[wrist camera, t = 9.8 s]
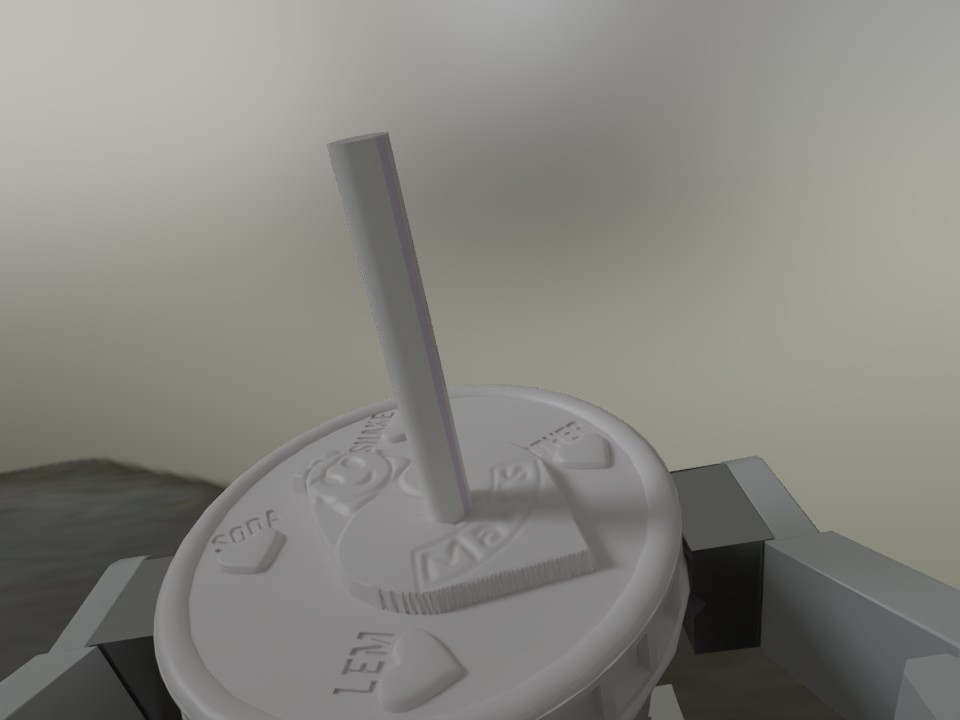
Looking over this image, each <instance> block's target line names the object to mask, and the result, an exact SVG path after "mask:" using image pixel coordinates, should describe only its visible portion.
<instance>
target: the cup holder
mask: <svg viewBox="0 0 960 720" xmlns="http://www.w3.org/2000/svg"><path fill="white" fill-rule="evenodd" d="M647 720H684V719H683V716H682V713H681V711H680V708H679V705H678V702H677V699H676V696H675V693H674V691H673V688H672V685H671V684H669V685H663V686H656V687H654V689H653V691H652V693H651V701H650V710H649V714H648V719H647Z"/></svg>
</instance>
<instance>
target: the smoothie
mask: <svg viewBox="0 0 960 720" xmlns="http://www.w3.org/2000/svg"><path fill="white" fill-rule="evenodd" d="M327 147H328V151H329V155H330V158H331V162H332V166H333V170H334V173H335V177H336V180H337V184H338V188H339V192H340V195H341V199H342V203H343V206H344V210H345V213H346V217H347V221H348V225H349V228H350V232H351V236H352V239H353V243H354V247H355V250H356V254H357V258H358V262H359V265H360V269H361V273H362V276H363V280H364V284H365V287H366V291H367V295H368V298H369V302H370V306H371V309H372V313H373V317H374V320H375V324H376V328H377V331H378V335H379V339H380V343H381V346H382V349H383V354H384V357H385V361H386V365H387V368H388V372H389V376H390V379H391V383H392V387H393V390H394V394H395V397H394V398H390V399H387V400H383V401H380V402H377V403H373V404H370V405H366V406H364V407H361V408H359V409H356V410H354V411H351V412H349V413H346V414H343V415H341V416H339V417H336V418H333V419H331V420H329V421H327V422H325V423H323V424H321V425H319V426H317V427H315V428H313V429H311V430H309V431H307V432H305V433H303V434H301V435H299V436H298V437H295V438H294V439H292V440H291V441H289V442H288V443H286V444H285V445H283V446H281V447H280V448H278V449H276V450H275V451H273V452H272V453H270V454H268V455H267V456H265V457H264V458H263V459H261V460H260V461H259V462H258V463H256V464H255V465H254V466H253V467H251V468H250V469H249V470H247V472H245V473H244V474H242V475H241V476H240V477H239V478H237V479H236V480H235V481H234V482H233V483H232V484H231V485H230V486H229V487H228V488H227V489H226V490H225V491H224V492H223V493H222V494H221V495H220V496H219V497H218V498H217V499H216V500H215V501H214V502H213V503H212V504H211V505H210V506H209V507H208V508H207V509H206V510H205V512H204V513H203V514H202V516H201V517H200V518H199V520H198V521H197V522H196V524H195V525H194V526H193V528H192V529H191V530H190V532H189V533H188V534H187V536H186V537H185V538H184V540H183V542H182V544H181V546H180V547H179V549H178V551H177V553H176V554H175V556H174V558H173V560H172V562H171V564H170V566H169V568H168V571H167V573H166V575H165V577H164V580H163V583H162V586H161V589H160V593H159V596H158V600H157V605H156V610H155V616H154V634H153V637H154V647H155V656H156V659H157V663H158V667H159V670H160V674H161V677H162V679H163V681H164V683H165V685H166V687H167V689H168V691H169V693H170V695H171V697H172V698H173V700H174V702H175V703H176V704H177V706H178V707H179V708H180V710H181V714H182V719H183V720H647V719H648V714H649V710H650V701H651V693H652V691H653V689H654V687H655V686H656V684H657V683H658V681H659V679H660V678H661V676H662V675H663V673H664V671H665V670H666V668H667V667H668V665H669V663H670V662H671V660H672V659H673V657H674V655H675V653H676V649H677V645H678V641H679V636H680V632H681V628H682V623H683V619H684V615H685V611H686V606H687V602H688V598H689V594H690V586H689V578H688V571H687V563H686V555H685V552H684V549H683V545H682V522H681V508H680V503H679V498H678V493H677V490H676V487H675V484H674V482H673V479H672V476H671V474H670V472H669V471H668V469H667V467H666V465H665V463H664V461H663V460H662V458H661V457H660V456H659V455H658V453H657V452H656V450H655V449H654V448H653V447H652V445H651V444H650V443H649V442H648V441H647V440H646V439H645V438H644V437H643V436H642V435H641V434H639V433H638V432H637V431H636V430H635V429H634V428H632V427H631V426H630V425H628V424H627V423H625V422H624V421H622V420H621V419H619V418H618V417H616V416H615V415H613V414H611V413H609V412H607V411H605V410H604V409H602V408H600V407H598V406H595V405H593V404H590V403H588V402H585V401H583V400H580V399H577V398H575V397H572V396H570V395H566V394H561V393H556V392H552V391H548V390H543V389H539V388H532V387H522V386H512V385H464V386H454V387H446V384H445V380H444V375H443V371H442V367H441V362H440V358H439V353H438V349H437V345H436V340H435V336H434V332H433V327H432V323H431V318H430V314H429V310H428V305H427V301H426V296H425V292H424V288H423V283H422V279H421V275H420V270H419V266H418V261H417V257H416V253H415V249H414V244H413V240H412V235H411V231H410V227H409V222H408V218H407V213H406V209H405V205H404V200H403V196H402V192H401V187H400V183H399V179H398V174H397V170H396V165H395V161H394V156H393V152H392V148H391V143H390V139H389V135H388V132H379V133H373V134H366V135H361V136H356V137H351V138H347V139H343V140H339V141H335V142H332V143H329V144H327Z"/></svg>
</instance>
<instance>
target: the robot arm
mask: <svg viewBox="0 0 960 720" xmlns="http://www.w3.org/2000/svg"><path fill="white" fill-rule="evenodd" d="M670 474H671V476H672V479H673V482H674V484H675V487H676V490H677V493H678V498H679V503H680V508H681V522H682V545H683V549H684V552H685V555H686V563H687V571H688V578H689V586H690V594H689V598H688V602H687V606H686V611H685V615H684V619H683V623H682V624H683V627H684V629H685V632H686V634H687V636H688V639H689V641H690V644H691V646H692V649H693V651H694V653H695V654H703V653H711V652H720V651H728V650H736V649H745V648H753V647H761V649H760V650H761V651H762V652H764V653H765V654H766V655H767V656H769V657H770V658H771V659H772V660H773V661H775V662H776V663H777V664H778V665H780V666H781V667H782V668H783V669H784V670H786V671H787V672H788V673H789V674H791V675H792V676H793V677H794V678H796V679H797V680H798V681H799V682H800V683H802V684H803V685H804V686H805V687H807V688H808V689H809V690H810V691H811V692H813V693H814V694H815V695H816V696H818V697H819V698H820V699H821V700H822V701H824V702H825V703H826V704H827V705H829V706H830V707H831V708H832V709H834V710H835V711H836V712H837V713H838V714H840V715H841V716H842V717H843V718H845V719H846V720H960V591H959V590H957V589H955V588H953V587H951V586H948V585H947V584H944V583H942V582H940V581H938V580H936V579H934V578H932V577H929V576H927V575H925V574H923V573H921V572H919V571H917V570H914V569H912V568H910V567H908V566H906V565H904V564H902V563H899V562H897V561H895V560H893V559H891V558H888V557H886V556H884V555H882V554H880V553H878V552H875V551H874V550H872V549H869V548H867V547H865V546H863V545H861V544H859V543H856V542H854V541H852V540H850V539H848V538H846V537H844V536H841V535H839V534H837V533H835V532H833V531H828V532H822V533H820V532H819V530H818V529H817V528H816V526H815V525H814V524H813V523H812V521H811V520H810V519H809V518H808V516H807V515H806V514H805V512H804V511H803V510H802V509H801V507H800V506H799V505H798V504H797V502H796V501H795V500H794V498H793V497H792V496H791V495H790V493H789V492H788V491H787V489H786V488H785V487H784V486H783V484H782V483H781V482H780V481H779V479H778V478H777V477H776V475H775V474H774V473H773V472H772V470H771V469H770V468H769V467H768V465H767V464H766V463H765V462H764V460H763V459H762V458H760V457H757V456H752V457H746V458H741V459H736V460H730V461H725V462H721V463H720V464H713V465H708V466H702V467H696V468H690V469H684V470H678V471H672V472H670ZM176 553H177V551H173V552H166V553H159V554H152V555H151V556H141V557H134V558H127V559H120V560H119V561H117V562H115V563H113V564H111V565H110V566H109V567H108V568H107V570H106V571H105V573H104V574H103V576H102V577H101V578H100V580H99V581H98V583H97V584H96V586H95V587H94V588H93V590H92V591H91V593H90V594H89V596H88V597H87V599H86V600H85V601H84V603H83V604H82V606H81V607H80V609H79V610H78V611H77V613H76V614H75V616H74V617H73V619H72V620H71V621H70V623H69V624H68V626H67V627H66V629H65V630H64V631H63V633H62V634H61V636H60V637H59V639H58V640H57V641H56V643H55V644H54V646H53V647H52V649H51V650H50V652H49V653H48V654H42V655H37V656H36V657H34V658H33V659H31V660H30V661H29V662H27V663H26V664H25V665H23V666H22V667H21V668H19V669H18V670H17V671H15V672H14V673H13V674H11V675H10V676H9V677H7V678H6V679H5V680H3V681H2V682H1V683H0V720H183V719H182V714H181V710H180V708H179V707H178V706H177V704H176V703H175V702H174V700H173V698H172V697H171V695H170V693H169V691H168V689H167V687H166V685H165V683H164V681H163V679H162V677H161V674H160V670H159V667H158V663H157V659H156V656H155V647H154V637H153V634H154V616H155V610H156V605H157V600H158V596H159V593H160V589H161V586H162V583H163V580H164V577H165V575H166V573H167V571H168V568H169V566H170V564H171V562H172V560H173V558H174V556H175V554H176Z"/></svg>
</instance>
